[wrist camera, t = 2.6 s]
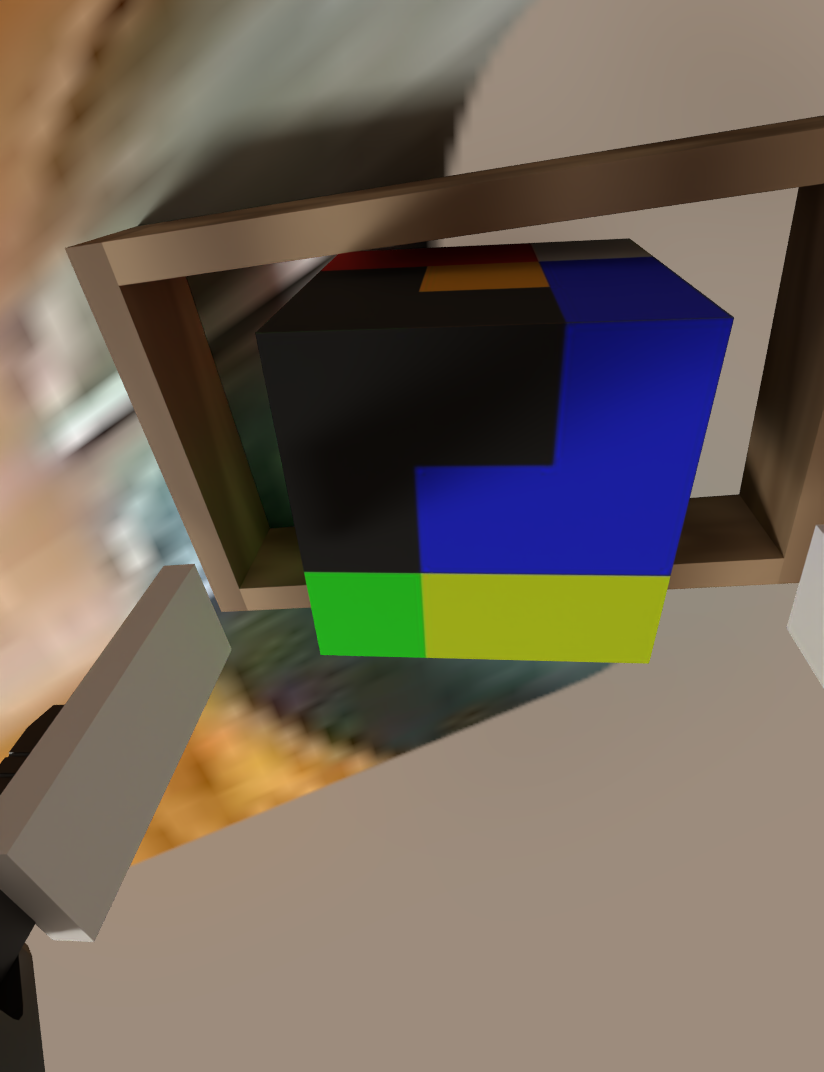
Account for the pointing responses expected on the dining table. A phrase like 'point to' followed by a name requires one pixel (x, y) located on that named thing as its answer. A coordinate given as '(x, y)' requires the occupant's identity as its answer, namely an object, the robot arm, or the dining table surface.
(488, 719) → the dining table surface
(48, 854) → the robot arm
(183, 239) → the pocket frame
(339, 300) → the puzzle toy
